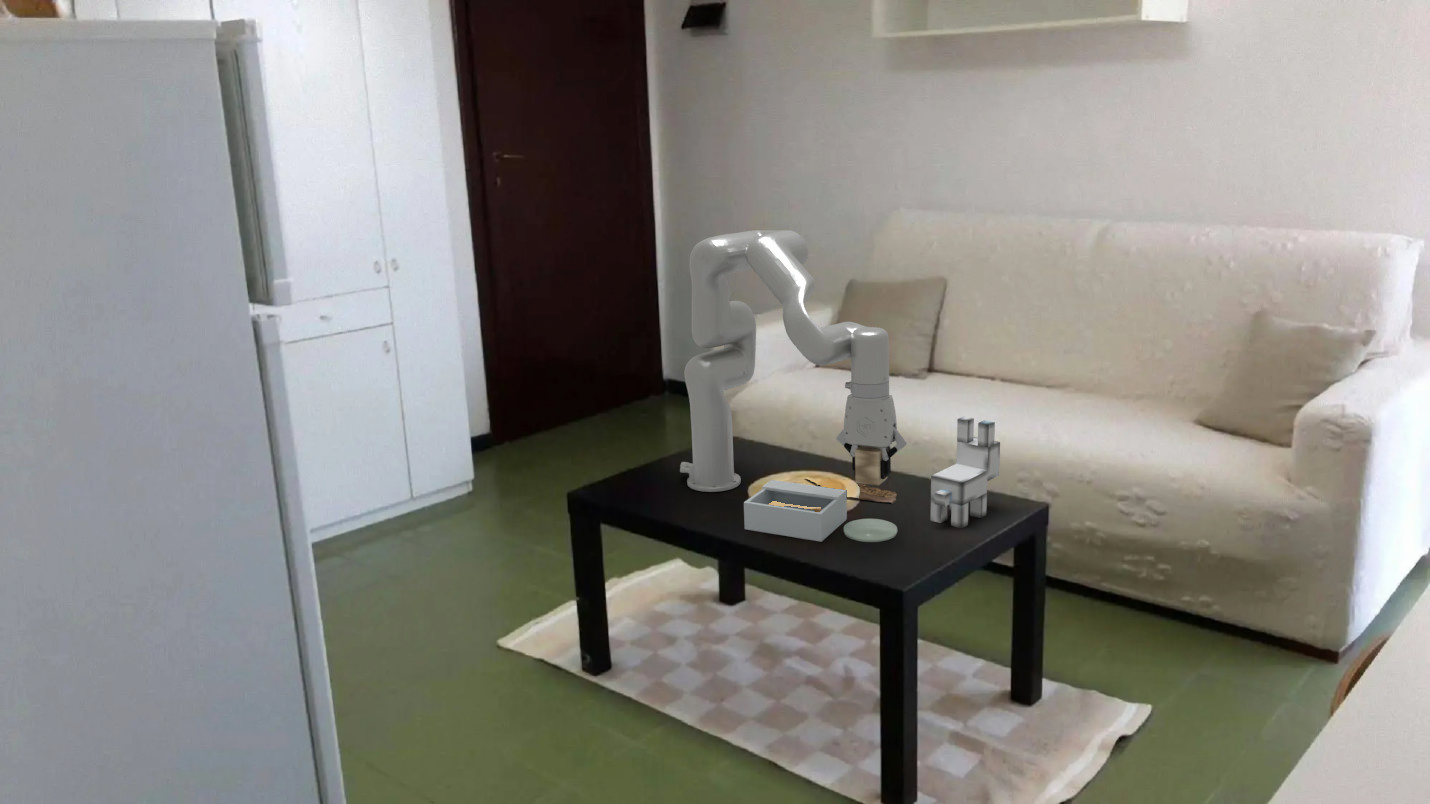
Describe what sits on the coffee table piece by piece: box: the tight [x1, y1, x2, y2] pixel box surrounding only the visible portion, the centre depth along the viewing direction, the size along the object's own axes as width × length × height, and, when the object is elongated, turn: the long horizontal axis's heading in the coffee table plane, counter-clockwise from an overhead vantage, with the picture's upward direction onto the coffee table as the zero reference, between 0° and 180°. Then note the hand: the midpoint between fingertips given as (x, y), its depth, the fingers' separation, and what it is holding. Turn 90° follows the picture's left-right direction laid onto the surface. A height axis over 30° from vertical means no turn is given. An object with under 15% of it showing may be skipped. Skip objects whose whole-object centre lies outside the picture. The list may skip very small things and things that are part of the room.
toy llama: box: [930, 416, 1001, 529], centre depth 242 cm, size 8×18×20 cm, turn 137°
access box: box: [743, 479, 848, 543], centre depth 243 cm, size 18×14×7 cm
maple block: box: [854, 446, 888, 486], centre depth 234 cm, size 5×5×7 cm
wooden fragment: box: [857, 483, 898, 505], centre depth 263 cm, size 26×11×1 cm, turn 41°
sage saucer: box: [843, 518, 898, 543], centre depth 238 cm, size 11×11×1 cm
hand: (871, 474), depth 235 cm, fingers closed on maple block, 5 cm apart
